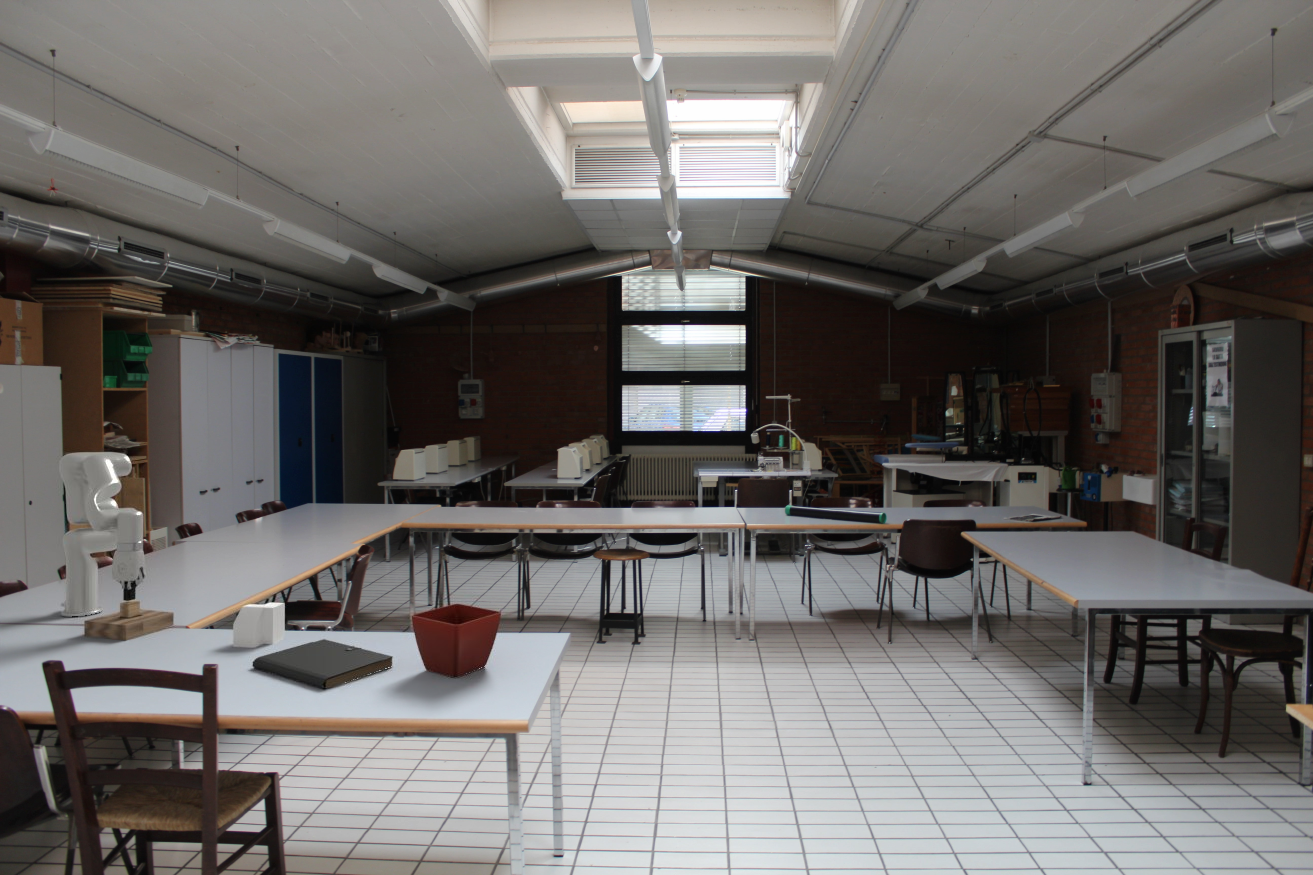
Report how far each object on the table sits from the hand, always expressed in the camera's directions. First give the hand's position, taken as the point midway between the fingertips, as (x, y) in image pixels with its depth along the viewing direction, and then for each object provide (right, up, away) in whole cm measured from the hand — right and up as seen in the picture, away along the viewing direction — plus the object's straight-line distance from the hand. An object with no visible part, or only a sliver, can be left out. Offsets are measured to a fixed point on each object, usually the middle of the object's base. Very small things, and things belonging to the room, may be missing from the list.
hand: (129, 599), depth 268 cm
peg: (0, -11, 0) cm, 11 cm away
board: (0, -11, 0) cm, 11 cm away
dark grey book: (+82, -14, -35) cm, 90 cm away
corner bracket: (+50, -12, -11) cm, 53 cm away
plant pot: (+121, -14, -35) cm, 127 cm away
